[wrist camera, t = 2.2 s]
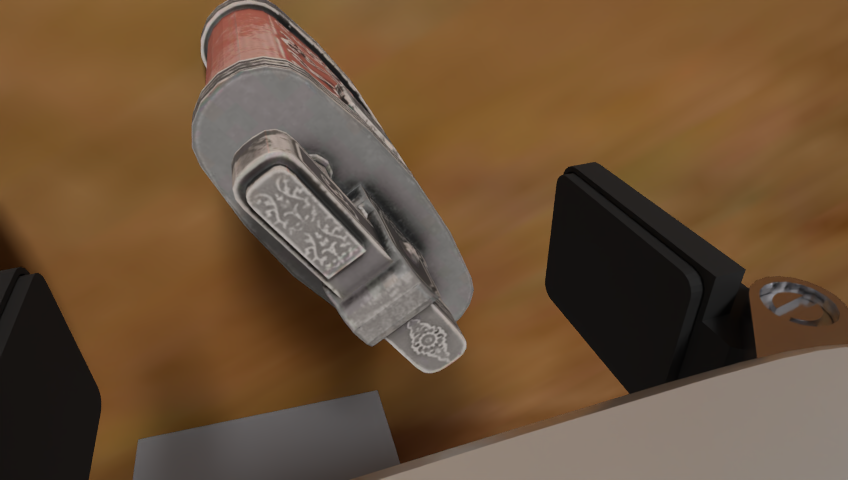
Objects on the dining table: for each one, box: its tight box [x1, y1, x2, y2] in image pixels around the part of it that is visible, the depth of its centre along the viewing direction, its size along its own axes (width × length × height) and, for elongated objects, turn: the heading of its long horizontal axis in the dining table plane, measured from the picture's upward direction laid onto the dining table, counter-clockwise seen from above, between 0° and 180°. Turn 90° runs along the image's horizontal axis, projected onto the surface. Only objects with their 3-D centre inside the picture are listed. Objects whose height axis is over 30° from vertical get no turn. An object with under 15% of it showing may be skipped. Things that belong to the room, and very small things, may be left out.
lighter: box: [192, 0, 474, 373], centre depth 14 cm, size 8×3×10 cm, turn 34°
